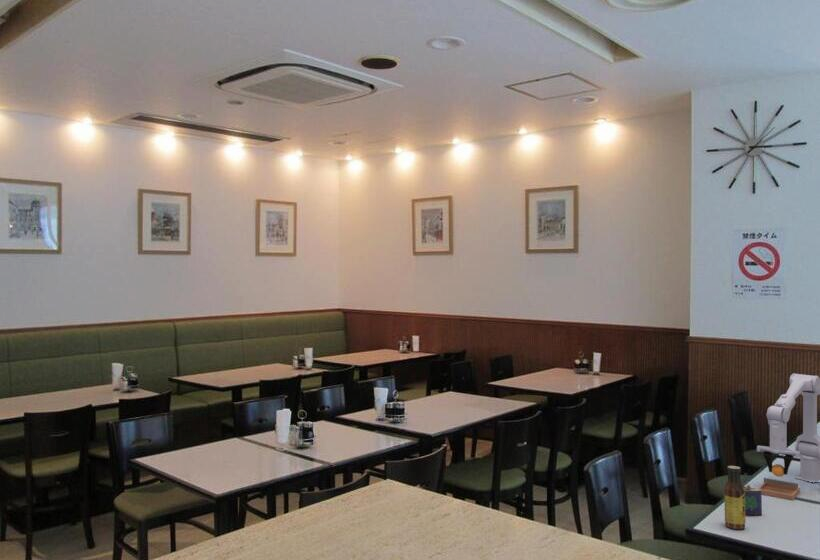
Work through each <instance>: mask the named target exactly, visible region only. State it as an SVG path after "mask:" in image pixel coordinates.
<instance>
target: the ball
mask: <svg viewBox="0 0 820 560" xmlns="http://www.w3.org/2000/svg"><path fill="white" fill-rule="evenodd" d="M772 466H773V467H772V472H771V473H772V474H773V476H776V477H779V478H781V477H783V476H784V466H783V465H781V464H774V465H772Z"/></svg>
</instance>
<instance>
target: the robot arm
mask: <svg viewBox="0 0 820 560" xmlns="http://www.w3.org/2000/svg"><path fill="white" fill-rule="evenodd" d="M789 376H790V377H789V381H788V382H789V387H788V389H787V391H786V393H783V394H781V395H780V397H779V398H778V399H777V400H776V402H775V403H774V405H770V406H769V407H767V411H766V418H767V425H768V426H769V446H766V445H757V446H756V452H759V453H760V452H762V456H763V459H764V460H765V461H766V464H767V468H768V472H769V473H772V467H773V466H774V465H773V456H774V455H775V454H776V455H782V456H783V462H784V463H783V465H784V466H783V467H784V475H785V476H787V475H788V473H789V468H790V466H791V463H792V461H793V459H794V458H800V463H799V464H800V465H799V466H800V475H799V476H795V479H798V480H800V479H801V480H800V481H804V480H805V481H804V482H807V481H809V482H808V483H811V482H813V483H812V484H815V483H814V482H818V481H819V480H820V436H819V434H818V396H819V395H820V377H819V375H809V374H802V373H801V374H800V373H795V372H794V373H792V374H791V375H789ZM800 395H802V434H800V435H798V436H797V437H796V442H795V444H794V445H795V447H794V450H793V449H789V448H787V445H788V444H787V442H788V441H787V434H788V431H787V430H788V429H787V428H788V427H787V425H788V424H787V423H788V422H789V420H790V418H791V417H790V416H791V413H792V412H791V411H792V410H793V408H794V407H795V405H796V399H797V397H798V396H800ZM784 475H783V476H784ZM818 483H819V482H818Z"/></svg>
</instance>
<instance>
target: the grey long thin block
mask: <svg viewBox="0 0 820 560" xmlns="http://www.w3.org/2000/svg"><path fill="white" fill-rule="evenodd" d="M764 482H770V483H775V484H781V485H786V486H792V487H798V488H799V483H797V482H792V481H791V482H790V481H785V480H780V479H773V478H769V477H763V483H764Z"/></svg>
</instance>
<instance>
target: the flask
mask: <svg viewBox="0 0 820 560" xmlns="http://www.w3.org/2000/svg"><path fill="white" fill-rule="evenodd" d="M743 488H744V491H745V517H761V516H762V514H763V513H762V512H763V508H762V507H763V505H762V503H763V502H762V501H763V499H762V497H763V495H762V490H761V489H757V488H752V486H751V484H748V483H747V484H746V486H745V487H743Z"/></svg>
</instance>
